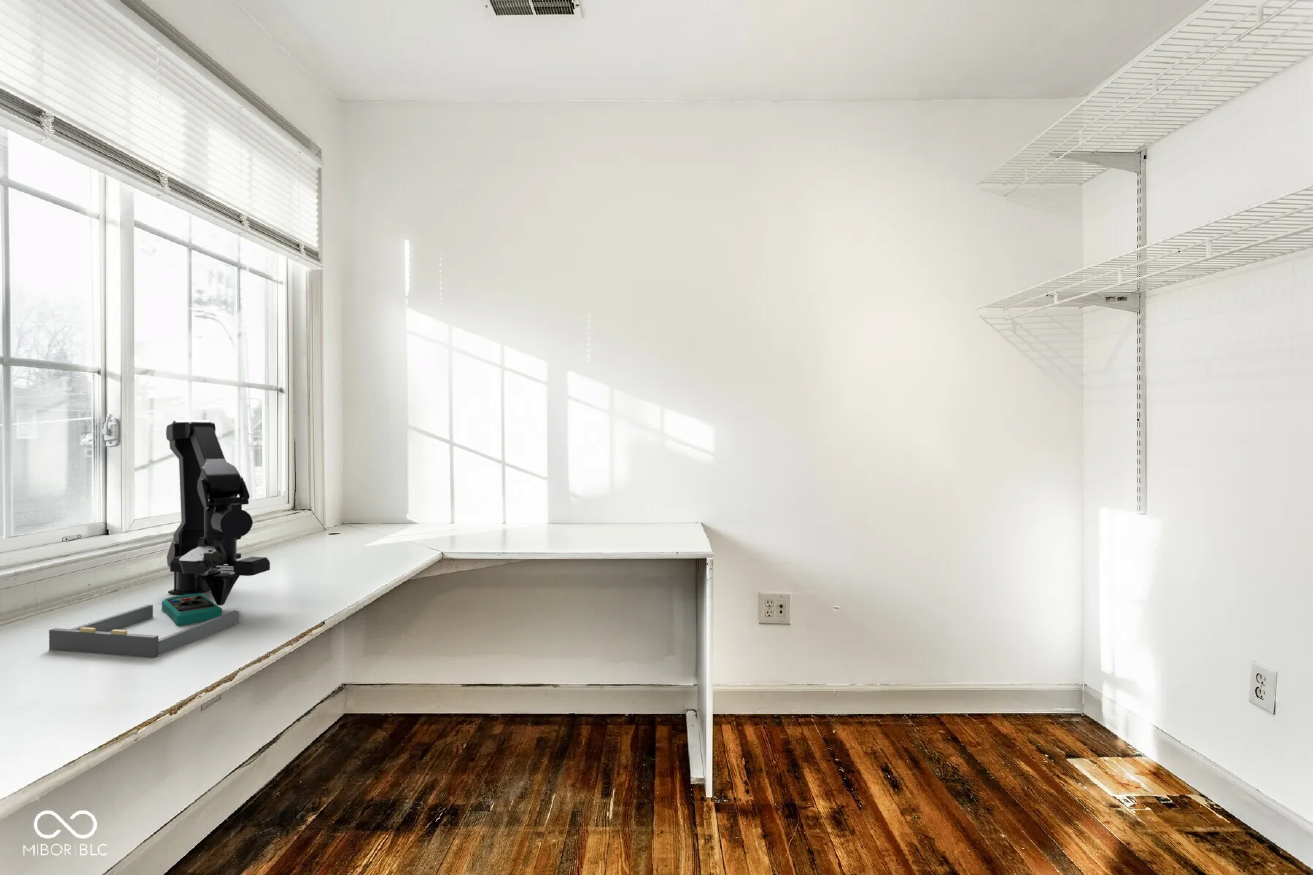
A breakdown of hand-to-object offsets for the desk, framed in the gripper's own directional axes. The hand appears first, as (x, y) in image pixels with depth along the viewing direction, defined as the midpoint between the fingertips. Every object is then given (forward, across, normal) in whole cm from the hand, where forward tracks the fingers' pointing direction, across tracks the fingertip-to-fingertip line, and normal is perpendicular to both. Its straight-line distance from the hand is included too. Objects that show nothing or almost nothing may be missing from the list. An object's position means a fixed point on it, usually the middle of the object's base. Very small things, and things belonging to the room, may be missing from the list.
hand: (220, 604), depth 140 cm
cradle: (+1, 0, -16) cm, 16 cm away
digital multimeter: (+2, -4, -4) cm, 5 cm away
